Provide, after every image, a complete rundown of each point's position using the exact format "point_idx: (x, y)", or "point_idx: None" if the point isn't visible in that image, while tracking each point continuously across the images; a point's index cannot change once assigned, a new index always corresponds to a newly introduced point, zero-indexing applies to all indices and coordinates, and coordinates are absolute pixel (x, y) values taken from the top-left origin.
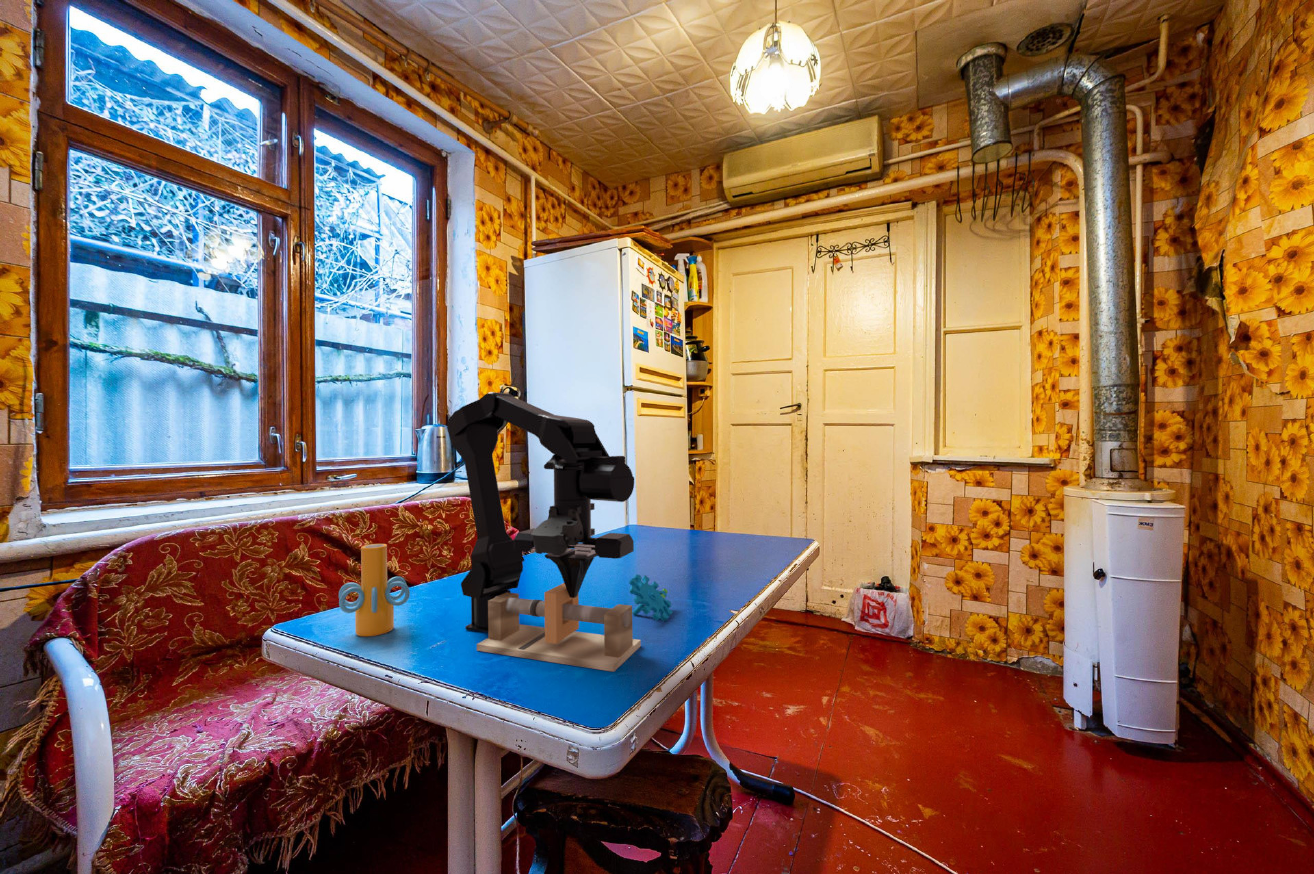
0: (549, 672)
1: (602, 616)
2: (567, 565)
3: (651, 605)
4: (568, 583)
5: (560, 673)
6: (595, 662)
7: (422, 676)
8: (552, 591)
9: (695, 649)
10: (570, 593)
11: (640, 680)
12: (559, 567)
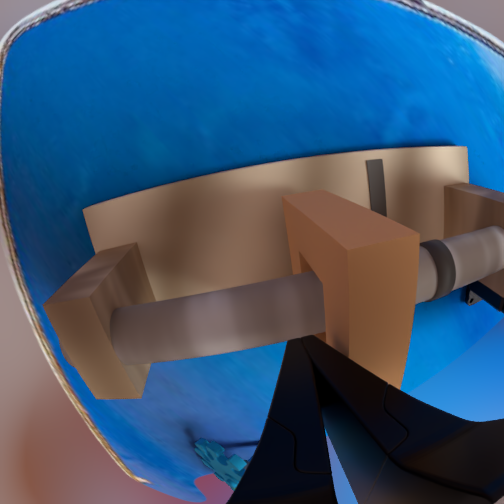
0: (226, 111)
1: (132, 313)
2: (385, 472)
3: (217, 461)
4: (333, 375)
5: (196, 122)
6: (128, 195)
7: (438, 18)
8: (390, 275)
9: (62, 370)
10: (309, 344)
11: (31, 206)
12: (441, 422)
